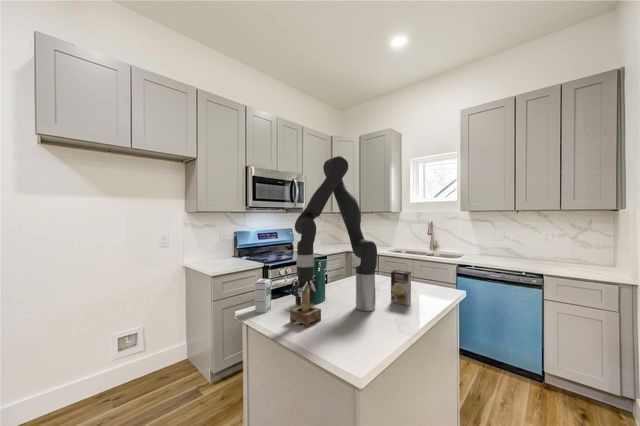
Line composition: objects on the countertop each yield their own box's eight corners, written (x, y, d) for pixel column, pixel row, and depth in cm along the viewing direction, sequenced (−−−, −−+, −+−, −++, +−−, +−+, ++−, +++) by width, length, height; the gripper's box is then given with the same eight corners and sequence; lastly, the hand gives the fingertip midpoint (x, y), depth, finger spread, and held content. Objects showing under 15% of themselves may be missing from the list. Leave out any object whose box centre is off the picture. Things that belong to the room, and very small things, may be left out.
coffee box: (390, 302, 137) (390, 271, 138) (393, 299, 143) (393, 269, 143) (408, 305, 133) (408, 273, 133) (411, 302, 138) (411, 271, 138)
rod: (305, 319, 116) (305, 282, 116) (311, 321, 114) (311, 283, 114) (300, 321, 114) (299, 284, 114) (305, 323, 112) (305, 285, 112)
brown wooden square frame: (305, 315, 121) (304, 304, 121) (321, 320, 115) (320, 309, 115) (290, 322, 113) (290, 310, 113) (306, 328, 107) (306, 315, 107)
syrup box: (266, 312, 124) (266, 281, 124) (254, 312, 125) (254, 281, 125) (271, 308, 130) (271, 278, 130) (259, 307, 131) (259, 278, 131)
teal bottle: (304, 301, 141) (304, 259, 141) (314, 296, 148) (313, 257, 148) (319, 304, 135) (319, 261, 135) (328, 300, 142) (328, 259, 142)
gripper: (300, 268, 106) (300, 309, 106) (322, 263, 117) (322, 300, 117) (287, 266, 111) (287, 305, 111) (309, 261, 122) (310, 296, 122)
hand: (305, 302), depth 114 cm, fingers open, 8 cm apart
